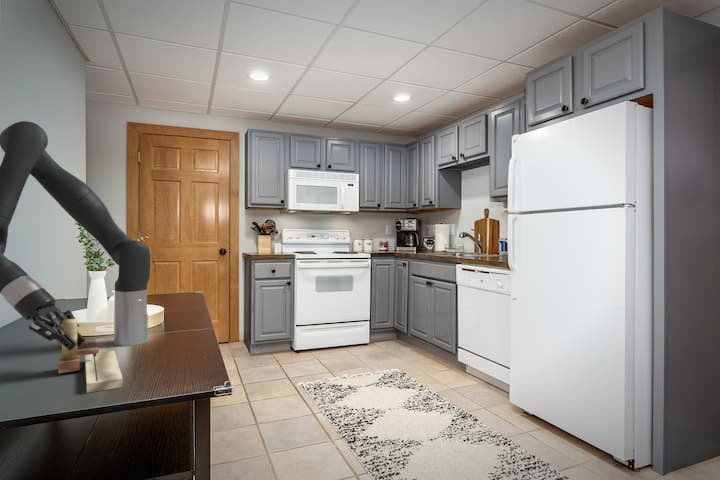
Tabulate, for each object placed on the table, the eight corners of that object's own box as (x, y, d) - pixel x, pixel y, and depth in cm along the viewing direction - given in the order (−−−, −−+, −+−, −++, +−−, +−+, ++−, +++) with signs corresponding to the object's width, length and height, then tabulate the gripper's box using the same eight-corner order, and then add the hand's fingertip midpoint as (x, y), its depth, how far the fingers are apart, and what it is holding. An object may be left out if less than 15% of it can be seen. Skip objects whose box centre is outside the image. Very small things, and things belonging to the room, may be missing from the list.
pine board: (114, 357, 119) (114, 350, 119) (122, 387, 97) (122, 378, 97) (85, 361, 115) (85, 354, 115) (86, 392, 93) (86, 383, 93)
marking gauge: (97, 361, 113) (98, 315, 113) (98, 367, 108) (99, 319, 108) (59, 366, 108) (59, 318, 108) (58, 373, 103) (59, 323, 103)
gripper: (19, 291, 99) (72, 342, 100) (57, 283, 113) (103, 328, 114) (-5, 313, 99) (49, 364, 100) (36, 303, 113) (83, 347, 114)
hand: (77, 345), depth 107 cm, fingers closed on marking gauge, 3 cm apart
